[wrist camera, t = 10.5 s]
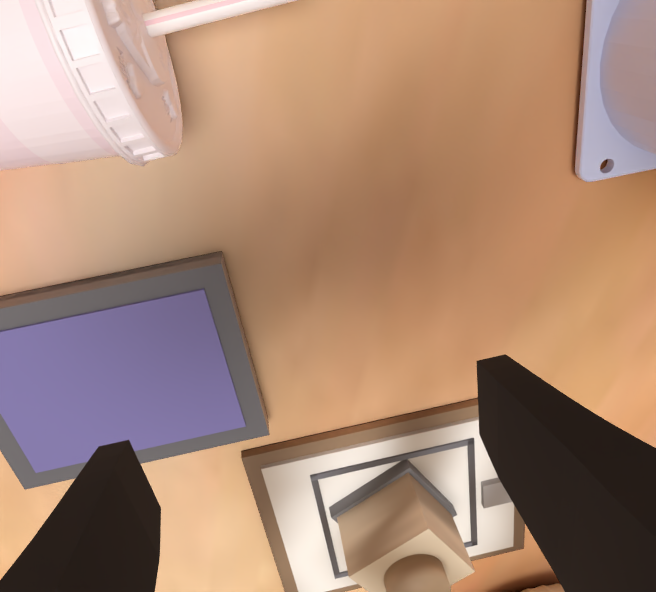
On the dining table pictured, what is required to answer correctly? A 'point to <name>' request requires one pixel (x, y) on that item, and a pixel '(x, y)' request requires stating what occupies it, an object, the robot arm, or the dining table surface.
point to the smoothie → (94, 78)
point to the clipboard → (361, 467)
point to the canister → (546, 588)
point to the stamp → (401, 534)
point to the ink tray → (125, 369)
